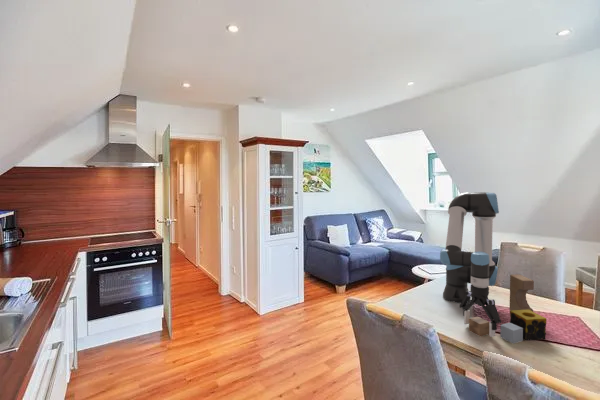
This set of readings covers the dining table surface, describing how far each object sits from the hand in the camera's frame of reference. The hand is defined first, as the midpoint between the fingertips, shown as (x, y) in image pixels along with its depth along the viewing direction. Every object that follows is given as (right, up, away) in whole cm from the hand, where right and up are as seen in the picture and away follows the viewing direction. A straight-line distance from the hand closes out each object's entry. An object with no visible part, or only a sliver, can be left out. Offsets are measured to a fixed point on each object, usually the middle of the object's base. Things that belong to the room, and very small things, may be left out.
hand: (479, 329), depth 148 cm
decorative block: (+33, 0, +19) cm, 38 cm away
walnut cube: (0, -2, 0) cm, 2 cm away
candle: (+21, -2, -3) cm, 21 cm away
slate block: (+11, -2, -6) cm, 13 cm away
